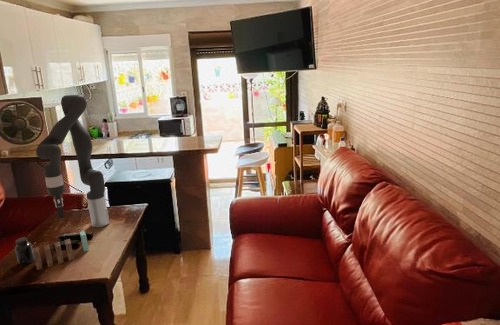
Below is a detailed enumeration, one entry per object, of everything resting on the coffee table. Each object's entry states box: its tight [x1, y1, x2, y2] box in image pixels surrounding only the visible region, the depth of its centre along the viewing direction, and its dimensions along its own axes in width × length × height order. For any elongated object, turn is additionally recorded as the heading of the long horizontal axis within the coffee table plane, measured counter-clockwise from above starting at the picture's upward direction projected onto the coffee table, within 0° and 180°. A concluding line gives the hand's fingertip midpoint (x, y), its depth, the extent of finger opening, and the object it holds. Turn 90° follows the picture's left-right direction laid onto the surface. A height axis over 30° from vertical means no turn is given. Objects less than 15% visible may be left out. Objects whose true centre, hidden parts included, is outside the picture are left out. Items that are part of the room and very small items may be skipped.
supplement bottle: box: [14, 236, 35, 266], centre depth 174 cm, size 7×7×12 cm
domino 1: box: [32, 246, 43, 271], centre depth 169 cm, size 2×5×9 cm, turn 32°
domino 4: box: [64, 238, 75, 262], centre depth 176 cm, size 2×5×9 cm, turn 32°
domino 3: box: [54, 241, 65, 265], centre depth 174 cm, size 2×5×9 cm, turn 32°
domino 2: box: [43, 243, 54, 267], centre depth 172 cm, size 2×5×9 cm, turn 32°
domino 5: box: [79, 230, 90, 253], centre depth 184 cm, size 2×5×9 cm, turn 32°
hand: (61, 214), depth 181 cm, fingers open, 8 cm apart
